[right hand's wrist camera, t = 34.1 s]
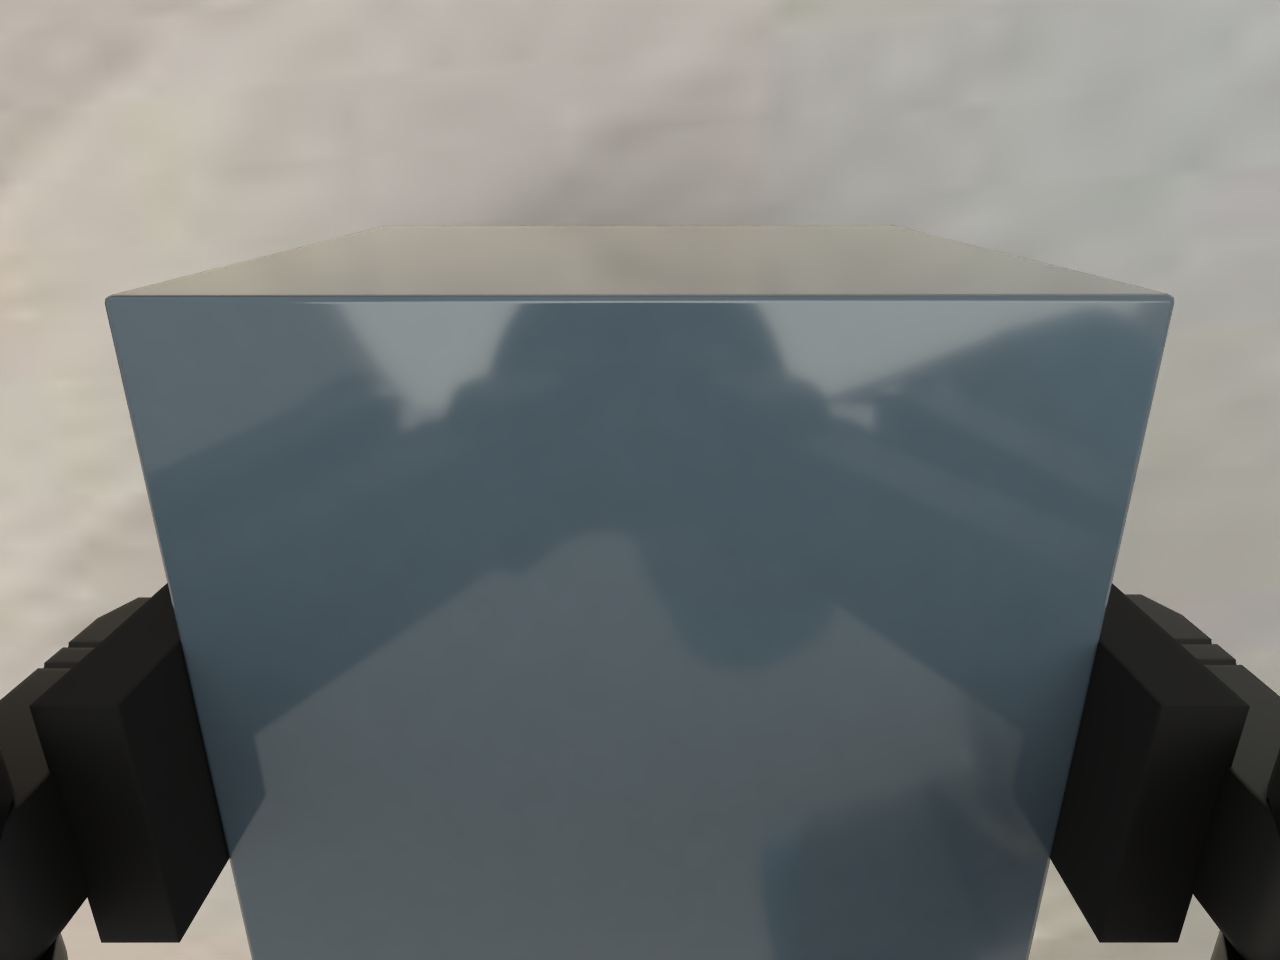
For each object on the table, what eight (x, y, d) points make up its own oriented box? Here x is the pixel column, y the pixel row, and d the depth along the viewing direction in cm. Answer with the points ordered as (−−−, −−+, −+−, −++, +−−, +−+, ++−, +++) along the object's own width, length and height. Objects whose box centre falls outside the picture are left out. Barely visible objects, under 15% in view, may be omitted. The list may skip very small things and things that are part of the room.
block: (849, 671, 18) (1009, 1057, 10) (429, 672, 18) (271, 1059, 10) (895, 224, 14) (1179, 294, 7) (382, 225, 14) (98, 295, 7)
